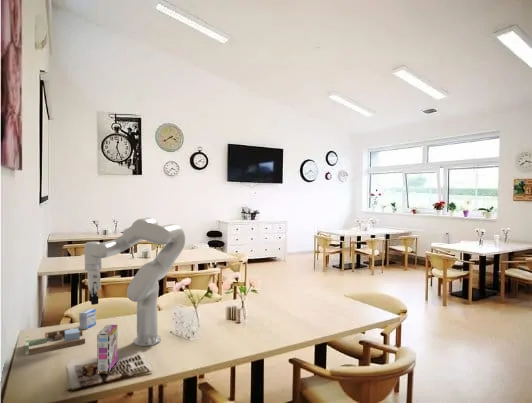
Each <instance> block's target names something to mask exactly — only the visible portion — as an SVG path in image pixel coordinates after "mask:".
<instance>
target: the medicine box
mask: <svg viewBox="0 0 532 403" xmlns="http://www.w3.org/2000/svg"><path fill="white" fill-rule="evenodd" d="M78 316H79V319H78V320H79V329H80V330H89V329H90V328H92V327H94V326H95V324H96V325H97V310H96V308H88V309H85V310H83V311H81V312H79V314H78ZM88 328H89V329H88Z"/></svg>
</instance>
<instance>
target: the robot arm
mask: <svg viewBox="0 0 532 403" xmlns="http://www.w3.org/2000/svg"><path fill="white" fill-rule="evenodd" d="M143 240H144V241H147V242H150V243H153V244H156V245H160V246H161V245H162V246H163V245H164V246H163V247H162V248H161V250H160V251H159V252H158V254H157V255H156V257H155V258H154V259H153V260H151V261H149V262H146V263H145V264H143V265H141V267H140V268H139V269H138V271H137V272H136V274H135V275H134V276H133V277H132V279H131V280H130V282H129V284H128V286H127V288H126V296H127V298H128V299H129V300H130V301H131V302H135V303H136V337H135V338H134V339H133V344H134V345H135V346H138V347H151V346H154V345H156V344H159V343H160V342H161V341H162V337H161V336H160V335H159V334H158V296H159V290H160V286H159V281H160V280H162V279H164V278H165V277H166V275H167V274H168V272H169V271H170V269H171V268H172V267H173V265H174V263H175V262H176V261H177V259H178V258H179V256H180V254H181V253H182V251H183V249H184V247H185V244H186V235H185V231H184V229H183V228H182V227H181V226H180V225H178V224H174V223H173V224H172V223H171V224H170V223H169V224H166V225H160V224H159V223H158V222H157V220H156V219H155V218H152V217H145V218H144V217H142V218H138V219H136V220H135V221H133V223H132V224H131V226H129V227H126V228H124V230H123V231H122V235H119V236H118V237H117V238H116V237H115V239H112V240H108V241H103V242H100V241H87V242H86V243H85V244H84V271H85V272H87V288H88V289H89V300H88V301H89V302H90V304H91V305H92V306H94V305H99V292H98V291H100V290H101V289H102V286H101V285H102V284H101V272H100V271H101V270H102V259H106V258H109V257H113V256H116V255H119V254H120V253H123V252H124V251H126V250H128V249H130V248H131V247H133V246H135V245H136V244H137V243H140V242H141V241H143Z"/></svg>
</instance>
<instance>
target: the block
mask: <svg viewBox="0 0 532 403" xmlns="http://www.w3.org/2000/svg"><path fill="white" fill-rule="evenodd" d="M69 329H70V330H65V338H64V342H68V341H73V340H78V339H81V336H80V332H79V331H80V330H79V329H80V328H78V327H77V328H72V329H71V328H69Z"/></svg>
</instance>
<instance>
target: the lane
mask: <svg viewBox="0 0 532 403" xmlns="http://www.w3.org/2000/svg"><path fill="white" fill-rule="evenodd" d="M70 329H71V328H64V329H60V330H55V331H48V332H45V333H44V337H40V338H35V339H30V337H29V336H25V356H27V355H32V354H39V353H43V352H48V351H52V350H54V351H55V350H58V349H63V348H68V347H73V346H77V345H78V346H79V345H82V344H86V338H80V339H78V340H73V341H68V342H65V341H63V342H59V343H53V344H48V345H42V346H37V347H33V348H30V346H33V345H39V344H44V343H45V344H46V343H48V342H50V341H61V340H63V339H65V330H70ZM79 332H80V337H83V331H82V330H79Z"/></svg>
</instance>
